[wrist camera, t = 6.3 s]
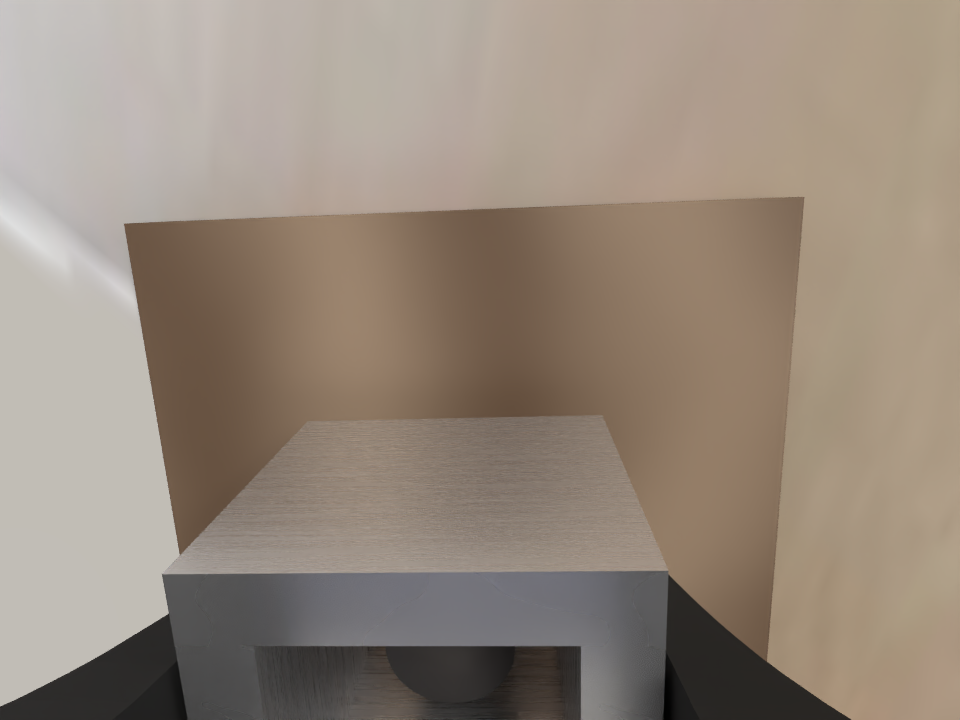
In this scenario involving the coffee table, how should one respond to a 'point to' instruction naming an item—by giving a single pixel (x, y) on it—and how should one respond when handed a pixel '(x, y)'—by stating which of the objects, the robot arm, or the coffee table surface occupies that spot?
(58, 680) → the robot arm
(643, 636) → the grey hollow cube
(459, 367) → the brown peg base
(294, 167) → the coffee table surface
